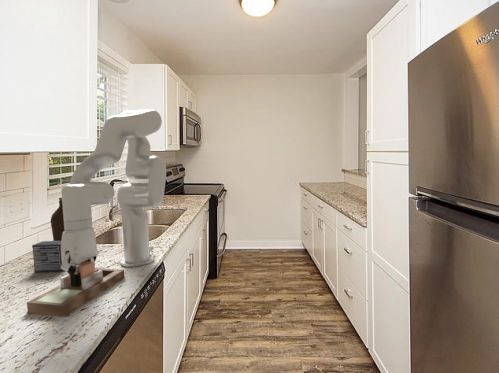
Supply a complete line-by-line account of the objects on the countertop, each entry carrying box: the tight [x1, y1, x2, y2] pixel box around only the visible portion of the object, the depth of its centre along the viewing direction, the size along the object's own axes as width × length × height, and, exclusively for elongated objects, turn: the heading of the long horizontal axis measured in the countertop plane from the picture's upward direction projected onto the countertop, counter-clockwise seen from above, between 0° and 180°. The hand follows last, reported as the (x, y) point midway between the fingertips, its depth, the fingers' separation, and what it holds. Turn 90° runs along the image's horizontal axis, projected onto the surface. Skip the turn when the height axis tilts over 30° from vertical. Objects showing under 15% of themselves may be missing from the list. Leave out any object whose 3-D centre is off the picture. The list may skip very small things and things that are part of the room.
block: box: [69, 261, 96, 287], centre depth 95 cm, size 5×5×6 cm
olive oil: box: [50, 196, 65, 241], centre depth 136 cm, size 11×11×25 cm
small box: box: [31, 240, 65, 273], centre depth 117 cm, size 11×6×10 cm, turn 92°
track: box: [26, 267, 125, 317], centre depth 95 cm, size 26×12×6 cm, turn 168°
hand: (83, 281), depth 96 cm, fingers closed on block, 5 cm apart
